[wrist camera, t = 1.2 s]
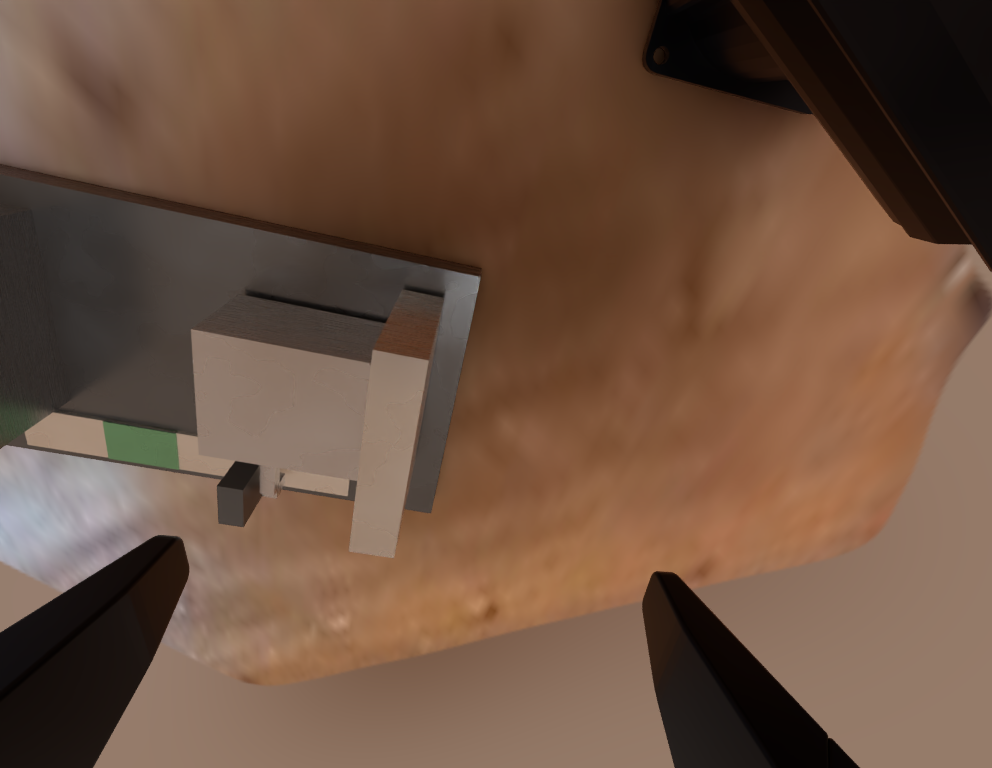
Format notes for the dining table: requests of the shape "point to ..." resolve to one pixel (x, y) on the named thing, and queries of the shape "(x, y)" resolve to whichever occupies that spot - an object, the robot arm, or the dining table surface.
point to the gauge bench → (179, 320)
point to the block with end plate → (320, 399)
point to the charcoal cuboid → (238, 493)
